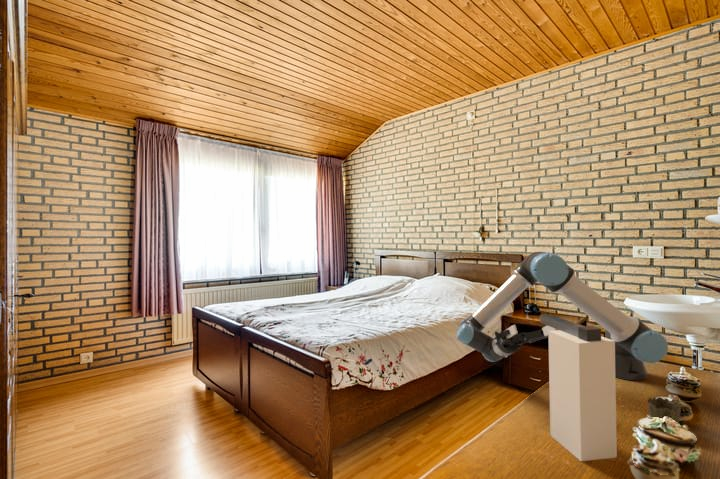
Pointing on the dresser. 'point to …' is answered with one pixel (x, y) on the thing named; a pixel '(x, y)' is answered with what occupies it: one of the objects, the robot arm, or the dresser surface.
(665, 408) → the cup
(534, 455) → the dresser surface
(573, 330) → the dark grey bar
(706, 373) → the dresser surface
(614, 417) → the tall cream upright block
